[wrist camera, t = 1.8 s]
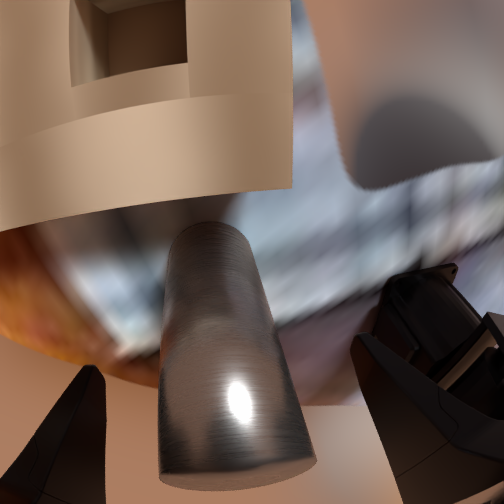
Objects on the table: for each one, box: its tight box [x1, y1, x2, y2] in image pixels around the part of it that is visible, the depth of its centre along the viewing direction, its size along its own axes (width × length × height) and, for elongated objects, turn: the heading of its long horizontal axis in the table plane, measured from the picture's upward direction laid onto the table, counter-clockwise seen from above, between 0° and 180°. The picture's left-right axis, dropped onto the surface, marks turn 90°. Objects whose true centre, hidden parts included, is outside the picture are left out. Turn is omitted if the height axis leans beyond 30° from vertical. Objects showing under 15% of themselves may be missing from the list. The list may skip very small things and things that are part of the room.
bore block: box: [0, 0, 293, 231], centre depth 6 cm, size 15×10×4 cm, turn 92°
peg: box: [158, 222, 317, 491], centre depth 10 cm, size 4×4×10 cm
